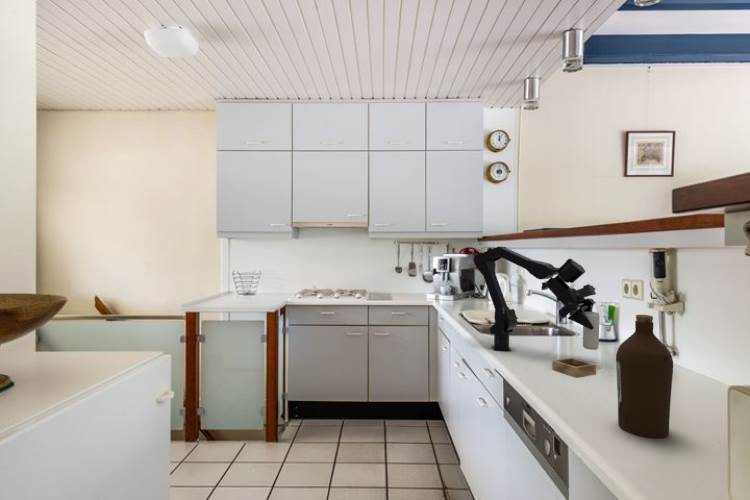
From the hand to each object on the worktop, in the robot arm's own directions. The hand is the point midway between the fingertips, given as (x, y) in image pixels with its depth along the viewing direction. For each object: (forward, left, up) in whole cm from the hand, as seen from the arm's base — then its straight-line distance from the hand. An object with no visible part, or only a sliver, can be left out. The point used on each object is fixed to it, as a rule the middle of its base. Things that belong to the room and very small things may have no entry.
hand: (595, 327), depth 141 cm
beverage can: (-1, -1, -7) cm, 7 cm away
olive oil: (+49, -6, -13) cm, 52 cm away
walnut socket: (+6, -8, -13) cm, 17 cm away
